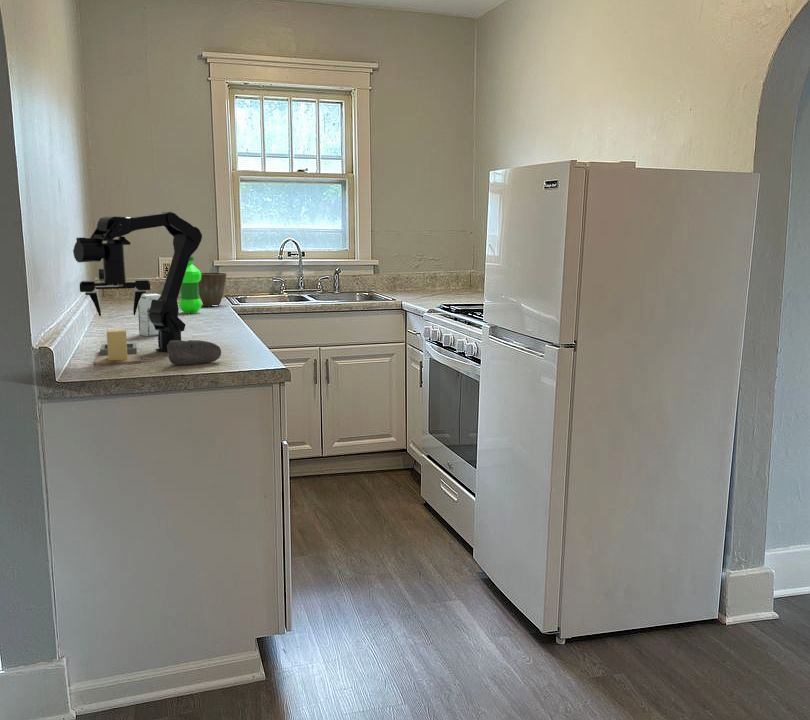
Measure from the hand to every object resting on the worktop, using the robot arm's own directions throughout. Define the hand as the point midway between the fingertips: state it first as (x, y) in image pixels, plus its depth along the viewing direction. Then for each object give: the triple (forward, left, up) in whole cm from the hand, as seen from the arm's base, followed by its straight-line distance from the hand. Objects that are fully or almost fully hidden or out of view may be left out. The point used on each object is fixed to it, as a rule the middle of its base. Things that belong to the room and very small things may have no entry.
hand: (117, 315), depth 213 cm
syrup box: (+26, -38, -12) cm, 48 cm away
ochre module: (-4, +4, -12) cm, 13 cm away
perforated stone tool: (-26, -2, -13) cm, 29 cm away
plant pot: (+75, -127, -12) cm, 148 cm away
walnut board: (-4, +4, -12) cm, 14 cm away
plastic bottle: (+63, -99, -12) cm, 118 cm away
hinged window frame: (+10, -9, -12) cm, 18 cm away
